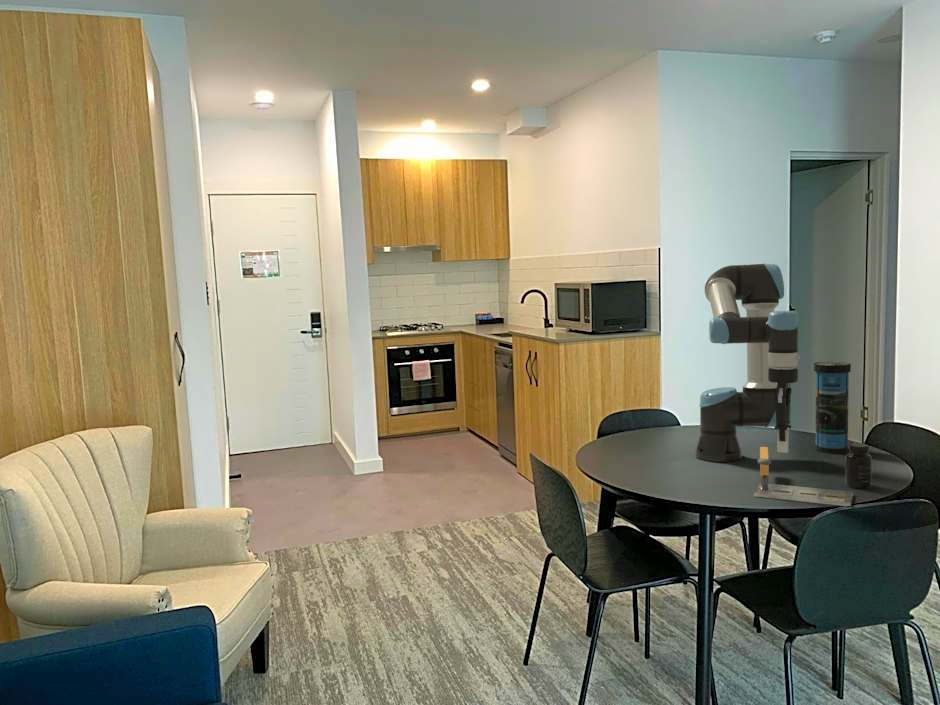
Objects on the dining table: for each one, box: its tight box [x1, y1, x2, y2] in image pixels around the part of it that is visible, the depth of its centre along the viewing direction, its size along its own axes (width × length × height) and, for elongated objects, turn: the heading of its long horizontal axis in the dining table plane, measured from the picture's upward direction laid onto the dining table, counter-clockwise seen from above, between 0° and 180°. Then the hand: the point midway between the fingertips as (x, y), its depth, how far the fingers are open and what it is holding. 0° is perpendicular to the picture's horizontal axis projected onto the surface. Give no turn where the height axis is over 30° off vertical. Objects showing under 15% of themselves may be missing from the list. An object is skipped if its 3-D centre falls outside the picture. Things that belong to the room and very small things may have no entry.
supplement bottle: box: [844, 442, 873, 490], centre depth 211 cm, size 7×7×12 cm
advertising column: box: [813, 361, 852, 454], centre depth 252 cm, size 11×11×30 cm
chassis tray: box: [753, 475, 854, 507], centre depth 204 cm, size 24×11×5 cm, turn 60°
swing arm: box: [757, 446, 772, 476], centre depth 217 cm, size 22×4×4 cm, turn 159°
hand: (782, 451), depth 204 cm, fingers closed
